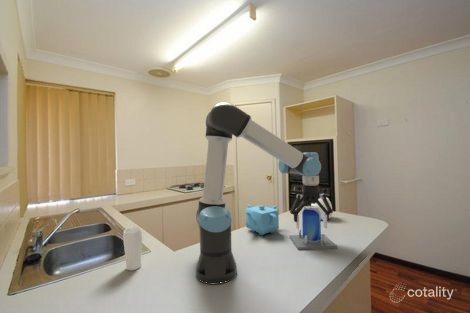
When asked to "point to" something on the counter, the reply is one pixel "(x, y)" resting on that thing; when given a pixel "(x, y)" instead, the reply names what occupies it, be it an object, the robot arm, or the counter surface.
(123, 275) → the counter surface
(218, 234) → the robot arm
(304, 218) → the beer can
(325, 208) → the cup
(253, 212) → the teakettle
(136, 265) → the white cylinder
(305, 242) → the pegboard
